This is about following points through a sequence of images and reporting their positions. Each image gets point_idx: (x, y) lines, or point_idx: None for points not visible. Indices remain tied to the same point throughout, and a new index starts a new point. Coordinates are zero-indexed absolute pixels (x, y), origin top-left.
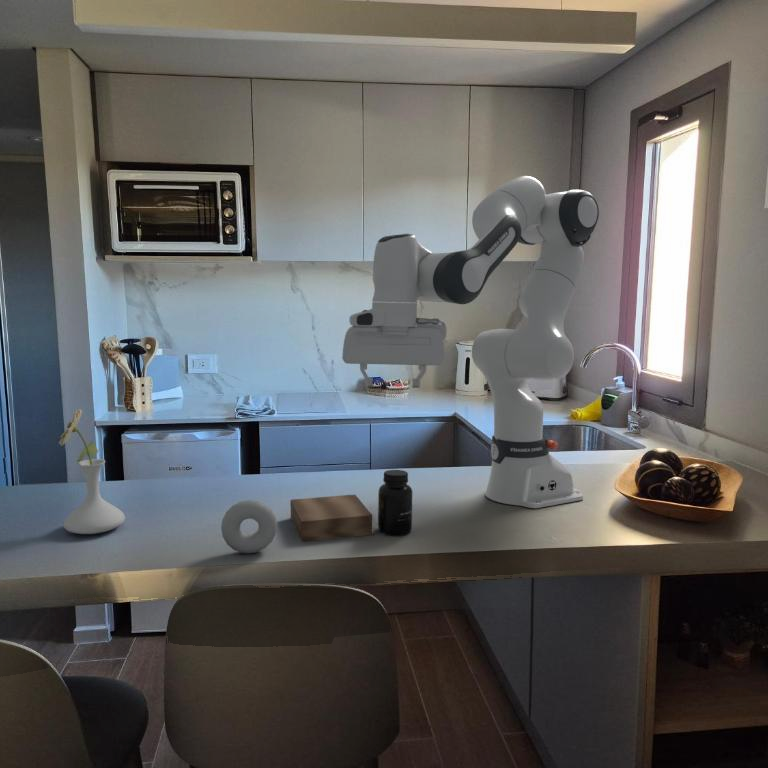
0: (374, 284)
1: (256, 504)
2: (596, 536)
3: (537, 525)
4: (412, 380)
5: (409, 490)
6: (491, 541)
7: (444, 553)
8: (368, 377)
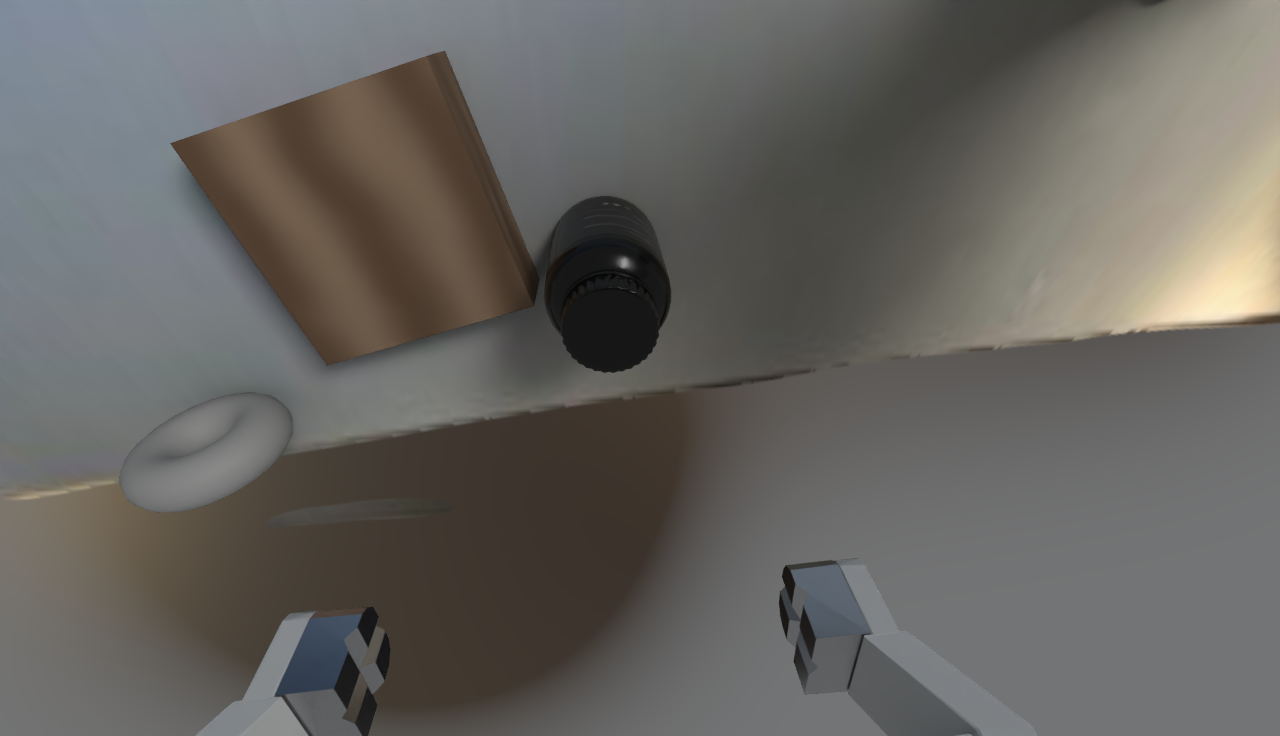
0: None
1: (200, 505)
2: (1155, 271)
3: (1054, 186)
4: (804, 638)
5: (659, 328)
6: (861, 314)
7: (723, 386)
8: (298, 723)
